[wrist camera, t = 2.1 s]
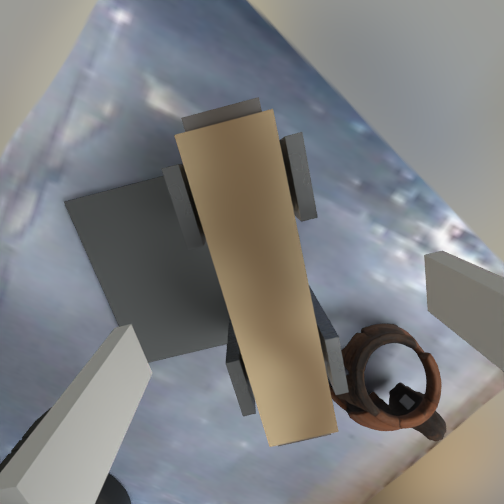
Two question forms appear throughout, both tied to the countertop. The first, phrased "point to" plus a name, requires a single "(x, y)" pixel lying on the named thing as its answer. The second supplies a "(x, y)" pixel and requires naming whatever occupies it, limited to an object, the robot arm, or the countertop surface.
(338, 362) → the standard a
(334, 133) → the countertop surface
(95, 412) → the robot arm
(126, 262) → the mat
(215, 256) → the oak rail
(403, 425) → the pottery mug
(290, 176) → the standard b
